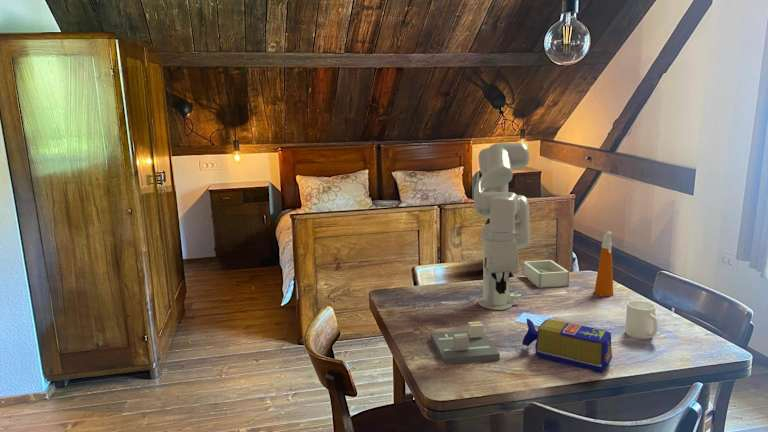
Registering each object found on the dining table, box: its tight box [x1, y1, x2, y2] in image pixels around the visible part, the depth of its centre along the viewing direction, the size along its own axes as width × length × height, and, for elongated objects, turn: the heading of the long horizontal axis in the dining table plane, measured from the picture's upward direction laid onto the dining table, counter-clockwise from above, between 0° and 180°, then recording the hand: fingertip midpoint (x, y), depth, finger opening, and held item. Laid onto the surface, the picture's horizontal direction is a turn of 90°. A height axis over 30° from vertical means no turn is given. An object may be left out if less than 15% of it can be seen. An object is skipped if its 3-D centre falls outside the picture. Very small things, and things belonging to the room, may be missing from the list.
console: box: [430, 329, 501, 365], centre depth 166 cm, size 17×18×2 cm
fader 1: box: [453, 333, 469, 351], centre depth 162 cm, size 4×3×4 cm
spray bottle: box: [594, 231, 614, 297], centre depth 208 cm, size 7×11×26 cm, turn 167°
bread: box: [521, 318, 613, 374], centre depth 158 cm, size 10×25×10 cm, turn 54°
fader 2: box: [467, 321, 484, 338], centre depth 170 cm, size 4×3×4 cm
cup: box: [624, 300, 658, 340], centre depth 171 cm, size 8×12×10 cm
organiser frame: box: [522, 259, 570, 289], centre depth 229 cm, size 13×18×6 cm
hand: (500, 292), depth 168 cm, fingers closed
